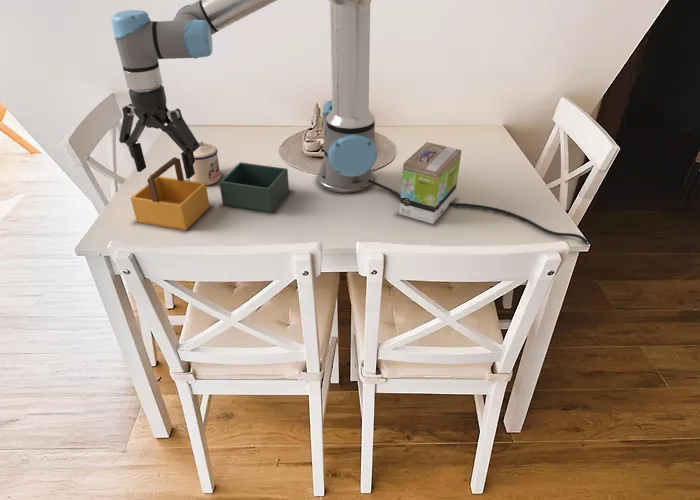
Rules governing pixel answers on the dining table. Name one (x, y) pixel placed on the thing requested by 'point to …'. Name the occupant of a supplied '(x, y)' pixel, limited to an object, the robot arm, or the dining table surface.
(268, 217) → the dining table surface
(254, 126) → the dining table surface
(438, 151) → the tea box
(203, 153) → the teacup with lid
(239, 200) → the green basket
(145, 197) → the ochre basket
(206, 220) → the dining table surface
